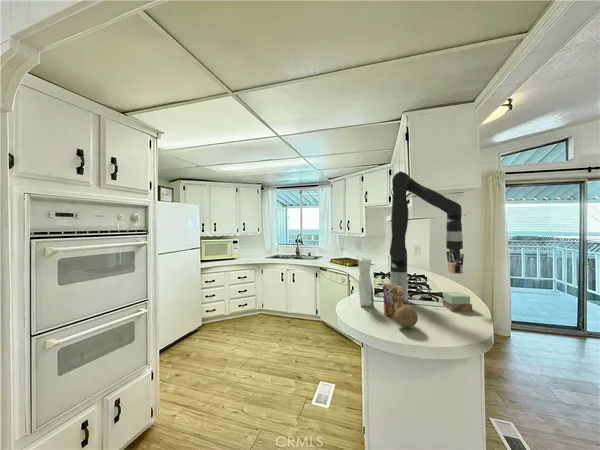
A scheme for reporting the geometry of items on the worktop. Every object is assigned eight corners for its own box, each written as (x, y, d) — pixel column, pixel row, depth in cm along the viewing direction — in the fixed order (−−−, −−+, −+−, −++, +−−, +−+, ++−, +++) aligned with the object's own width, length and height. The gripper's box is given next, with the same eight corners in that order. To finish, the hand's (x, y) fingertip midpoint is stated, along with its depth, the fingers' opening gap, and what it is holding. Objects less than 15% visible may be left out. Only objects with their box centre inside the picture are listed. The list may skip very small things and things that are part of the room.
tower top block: (451, 304, 130) (451, 296, 130) (443, 299, 139) (443, 291, 139) (470, 304, 130) (470, 296, 130) (460, 299, 138) (460, 291, 138)
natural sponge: (421, 333, 105) (421, 309, 105) (399, 333, 106) (398, 309, 106) (414, 324, 114) (413, 302, 114) (393, 324, 115) (393, 302, 115)
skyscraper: (358, 307, 140) (357, 256, 140) (357, 302, 148) (356, 254, 148) (374, 307, 138) (373, 256, 138) (372, 303, 146) (371, 254, 146)
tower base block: (451, 312, 130) (451, 304, 130) (442, 306, 140) (442, 298, 140) (472, 312, 129) (472, 304, 129) (462, 306, 139) (462, 298, 139)
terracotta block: (452, 273, 133) (452, 264, 133) (448, 271, 138) (447, 262, 138) (462, 273, 132) (462, 264, 132) (457, 271, 137) (457, 262, 137)
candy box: (404, 318, 122) (403, 286, 122) (397, 320, 120) (396, 287, 120) (389, 312, 130) (389, 283, 130) (383, 314, 128) (382, 284, 128)
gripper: (440, 239, 142) (441, 269, 142) (453, 240, 128) (454, 274, 128) (455, 239, 141) (455, 269, 141) (469, 240, 127) (470, 274, 127)
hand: (455, 271), depth 135 cm, fingers closed on terracotta block, 5 cm apart
